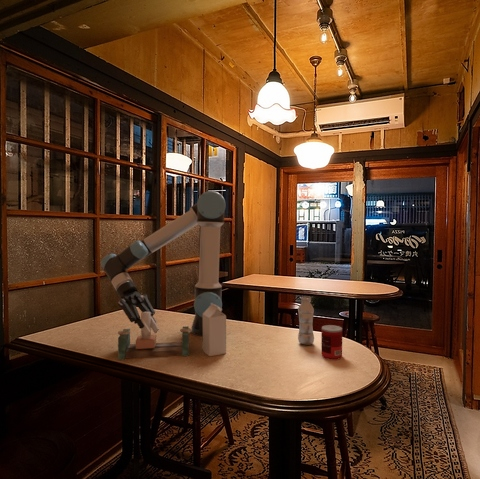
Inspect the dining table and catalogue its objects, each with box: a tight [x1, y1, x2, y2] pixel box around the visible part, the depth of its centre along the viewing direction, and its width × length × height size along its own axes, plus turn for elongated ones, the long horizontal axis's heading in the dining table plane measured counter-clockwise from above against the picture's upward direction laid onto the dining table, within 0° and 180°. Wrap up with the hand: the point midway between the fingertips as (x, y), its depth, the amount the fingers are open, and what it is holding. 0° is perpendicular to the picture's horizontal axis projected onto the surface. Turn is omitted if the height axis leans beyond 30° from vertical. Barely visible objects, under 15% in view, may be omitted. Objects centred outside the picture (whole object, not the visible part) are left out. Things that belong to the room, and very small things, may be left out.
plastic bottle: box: [297, 295, 315, 346], centre depth 148 cm, size 6×7×20 cm
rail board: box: [117, 326, 191, 360], centre depth 139 cm, size 28×12×8 cm, turn 99°
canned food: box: [320, 324, 343, 361], centre depth 134 cm, size 8×8×11 cm
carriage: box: [135, 311, 157, 349], centre depth 138 cm, size 7×7×13 cm
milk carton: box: [202, 303, 227, 357], centre depth 138 cm, size 7×7×19 cm
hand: (152, 332), depth 136 cm, fingers closed on carriage, 4 cm apart
